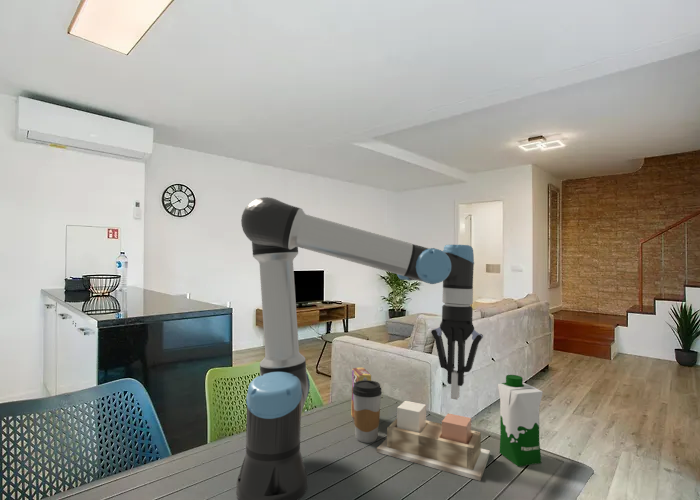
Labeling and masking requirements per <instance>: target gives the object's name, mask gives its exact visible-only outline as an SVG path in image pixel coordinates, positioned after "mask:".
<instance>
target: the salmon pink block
mask: <svg viewBox="0 0 700 500" xmlns="http://www.w3.org/2000/svg"><path fill="white" fill-rule="evenodd" d="M441 424H442V438H443V439H447V440H451V441H455V442H460V443H464V444H469V442H470V440H471V430H472V417H467V416H463V415H458V414H453V413H447V414H446V415H445V416H444V418H443V419H442V420H441Z"/></svg>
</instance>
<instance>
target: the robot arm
mask: <svg viewBox="0 0 700 500" xmlns="http://www.w3.org/2000/svg"><path fill="white" fill-rule="evenodd" d="M240 222H241V229H242V231H243V233H244V235H245V236H246V238H247V239H248V240H249V241H250V242H251V249H252V258H254V259H255V260H256V261H257V262H258V263H259V274H260V275H259V276H260V277H259V278H260V279H259V280H260V292H261V294H260V295H261V308H262V309H261V310H262V323H263V324H262V325H263V340H264V357H263V359H262V360H261V361H260V362H259V374H260V375H258V376H256V377H255V378H253V379H252V381H250V383H249V385H248V388H247V394H246V399H245V400H246V401H245V402H246V425H245V426H246V430H245V431H246V435H245V456H244V458H243V461H242V465H241V468H240V470H239V474H238V476H237V479H236V492H235V493H236V498H237V499H238V500H300V499H301V498H302V497H304V496H305V494H306V492H307V489H308V472H307V468H305V464H304V460H303V456H302V452H301V426H302V425H301V422H302V421H301V419H302V412H303V410H304V406H305V402H306V400H307V398H308V396H309V392H310V388H311V384H310V383H311V381H310V379H309V374H308V372H307V366H306V365H307V360H306V357H305V356H304V355H303V354H302V353H301V352H300V348H299V347H300V346H299V333H298V331H299V330H298V317H297V316H298V315H297V302H296V301H297V300H296V284H295V272H294V269H295V268H294V260H295V258H296V257H297V256H298V255H299V248H301V249H305V250H307V251H311V252H314V253H319V254H322V255H326V256H330V257H333V258H337V259H340V260H345V261H347V262H350V263H351V262H352V263H356V264H359V265H362V266H366V267H369V268H370V267H371V268H372V269H373V268H374V269H378V270H381V271H385V272H388V273H391V274H396V275H397V277H398V279H399V280H403V281H404V280H405V281H419V282H423V283H427V284H429V285H435V284H439V283H442V303H443V305H442V306H441V308H442V310H441V322H440V324H439V327H437V328H434V329H432V330H431V331H430V332H431V335H432V337H433V338H434V340H435V346H436V350H437V356H438V362H439V366H440V368H442V369H445V370H446V372H447V379H446V380H447V384H448V385H451V386H450V399H451V400H458V399H459V398H460V391H461V390H460V388H461V387H463V385H464V383H465V379H464V378H465V373H469V372H470V371H471V370H472V369H473V366H474V365H473V364H474V362H475V359H476V355H477V351H478V347H479V343H480V342H481V341H482V339H483V338H484V334H482V333H479V332H478V331H476V330H475V326H474V324H473V310H474V309H473V306H471V305H473V301H474V268H475V267H474V266H475V261H474V260H475V259H474V249H473V246H471V245H468V244H446V245H444V246H443V250H441V249H438V248H435V247H433V248H432V247H431V248H429V247H425V246H421V245H417V244H413V243H410V242H407V241H403V240H401V239H400V240H399V239H396V238H393V237H389V236H385V235H382V234H378V233H376V232H371V231H367V230H363V229H359V228H356V227H354V226H349V225H345V224H342V223H340V222H339V223H338V222H334V221H331V220H328V219H323V218H320V217H316V216H314V215H313V216H312V215H309V214H306V213H305V211H304V210H303V208H300V207H298V206H294V205H291V204H288V203H285V202H283V201H280V200H278V199H276V198H273V197H266V196H265V197H264V196H263V197H259V198H256V199H254V200H252V201H251V202H250V203H248V204H247V205H246V207H245V208H244V210H243V211H242V215H241V221H240ZM443 334H444V336H445V337H446V339H447V341H446V342H447V354H446V351H445V347H444V340H443V337H442V335H443ZM470 336H472V337H471V339H472V343H471V345H470V349H469V353H468V356H467V360H466V361H465V359H466V358H465V357H466V356H465V355H466V350H465V349H466V341H467V340H468V339H469V337H470ZM456 342H457V369H456V370H455V368H456V367H455V359H456V358H455V351H456V350H455V348H456ZM465 362H466V364H465Z"/></svg>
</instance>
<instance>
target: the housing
mask: <svg viewBox="0 0 700 500" xmlns="http://www.w3.org/2000/svg"><path fill="white" fill-rule="evenodd" d="M481 437H482V432H481V431H476V430H472V429H471V440H470V442H469V444H464V443H460V442H455V441H451V440H447V439H443V438H442V422H441V423H440V422H437V421H433V420H432V421H431V420H427V419H426V427H425V428H424V429H423V430H422V432H421V433H417V432H413V431H409V430H405V429H401V428H397V418H396V419H395V420H393V422H392V423H391V424H389V426H387V428H386V439H385V440H383V442H381V444H380V445H379V446H377V447H376V453H378V454H382V455H385V456H389V457H393V458H397V459H400V460H404V461H408V462H412V463H415V464H418V465H421V466H426V467H428V468H433V469H435V470H436V469H437V470H439V471H443V472H446V473H450V474H453V475H457V476H461V477H464V478H469V479H472V480H476V481H479V482H481V481H482V478H483V475H484V472H485V470H486V466H487V464H488V461H489V459H490V455H491V450H489V449H485V448H482V445H481V444H482V439H481Z"/></svg>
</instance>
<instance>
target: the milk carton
mask: <svg viewBox="0 0 700 500" xmlns="http://www.w3.org/2000/svg"><path fill="white" fill-rule="evenodd" d="M497 387H498V394H499V400H500V402H499V403H500V407H499V408H500V412H499V413H500V419H499V421H500V426H499V427H500V436H499V437H500V438H499V454H501V455H502V456H503V457H504V458H506V459H507V460H508V461H510V462H511V463H512V464H514V465H515V466H516V467H524V466H531V465H537V464H538V465H539V464H542V455H541V445H540V406H541V401H542V397H543V394H544V391H543V390H540V389H538V388H537V387H536V386H532V385H531V384H528V383H525V382H523V376H521V375H516V374H508V375H505V382H502V383H498V384H497Z"/></svg>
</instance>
